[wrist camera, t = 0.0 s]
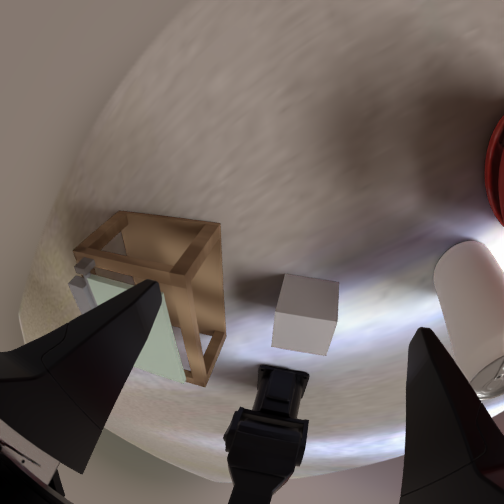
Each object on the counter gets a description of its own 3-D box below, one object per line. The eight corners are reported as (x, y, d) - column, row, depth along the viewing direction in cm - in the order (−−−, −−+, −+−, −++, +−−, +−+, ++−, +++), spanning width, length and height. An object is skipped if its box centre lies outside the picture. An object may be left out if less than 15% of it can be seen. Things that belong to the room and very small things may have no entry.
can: (425, 295, 24) (447, 407, 15) (439, 236, 21) (486, 351, 11) (480, 295, 23) (514, 396, 13) (498, 239, 19) (556, 340, 10)
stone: (329, 316, 29) (325, 355, 25) (281, 308, 30) (271, 346, 26) (339, 281, 26) (337, 321, 22) (285, 273, 27) (275, 311, 23)
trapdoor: (187, 378, 28) (183, 387, 27) (110, 351, 30) (105, 359, 29) (164, 288, 21) (156, 299, 20) (71, 264, 23) (63, 272, 22)
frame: (226, 336, 34) (200, 398, 27) (146, 315, 36) (113, 366, 29) (220, 223, 26) (175, 288, 19) (119, 210, 28) (62, 259, 21)
